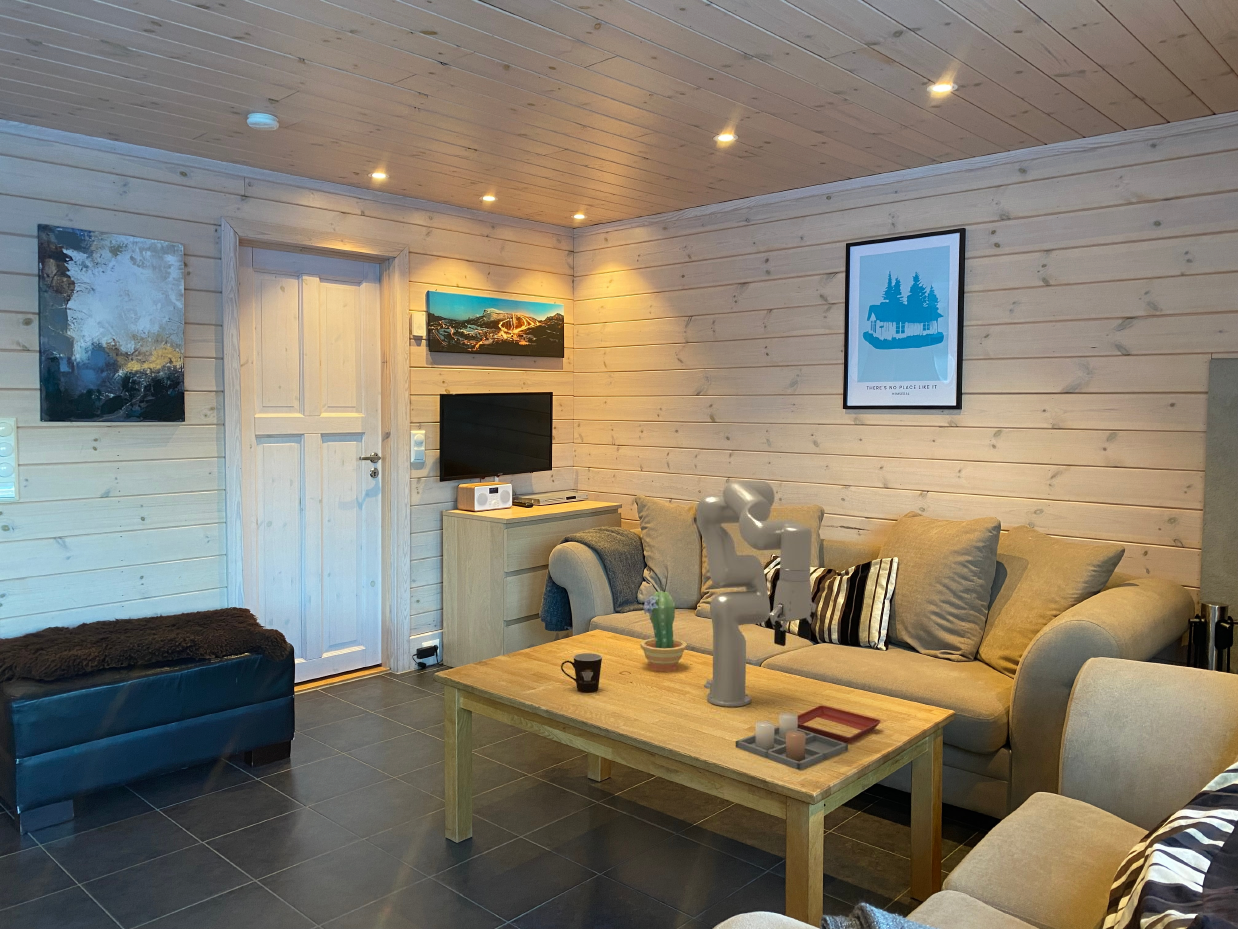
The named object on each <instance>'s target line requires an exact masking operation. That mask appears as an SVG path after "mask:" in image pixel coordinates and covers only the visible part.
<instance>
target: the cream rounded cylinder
mask: <svg viewBox="0 0 1238 929" xmlns="http://www.w3.org/2000/svg"><path fill="white" fill-rule="evenodd" d="M778 716H779V717H778V726H779V738H781V739H784V740H786V732H788V731H797V726H798V715H797V714H795V713H792V712H782V713H779V715H778Z"/></svg>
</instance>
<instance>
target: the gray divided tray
mask: <svg viewBox="0 0 1238 929" xmlns="http://www.w3.org/2000/svg"><path fill="white" fill-rule="evenodd" d="M797 731H801V732H803V733H805V734H806V739H805V760H802V761H800V762H798V761H795V760H792V759H789V758H787V757H786V740H784V739H781V738H779V725H777V726H774V748H773V749H771V750H768V751H767V750H764V749H761V748H758V747H755V733H754V734H752V735H748V736H747V737H744V738H740V739H738V740H735V748H737V749H739V750H743V751H745V752H748V753H750V754H753V755H756V756H759V757H761V758H764V759H768V760H770V761H772V762H775V763H778V764H781V765H784V766H787V767H789V768H792V769H795V770H797V771H801V770H804V769H807V768H809V767H811V766H813V765H816V764H818V763H820V762H823V761H826V760H828V759H830V758H833V757H836V756H837V755H840V754H842V753H845V752H847V751H849V743H846V742H842V741H838V740H834V739H831V738H827V737H824V736H821V735H818V734H815V733H811V732H808V731H805V730H802V729H799V728H797Z"/></svg>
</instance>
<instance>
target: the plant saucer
mask: <svg viewBox="0 0 1238 929" xmlns="http://www.w3.org/2000/svg"><path fill="white" fill-rule="evenodd" d="M797 716H798V726H797V728H799V729H802V730H805V731H808V732H811V733H815V734H818V735H821V736H824V737H827V738H830V739H833V740H837V741H840V742H843V743H846V744H849V743H851V742H853V741H854V740H856V739H858V738H859V737H862V736H863V735H865V734H867V733H868V732H869V733H871V732H873V731H874V730H875V729H876V728H877V727H878V726H879V724H880V723H881V722H882V720H881V719H878V718H874V717H870V716H867V715H864V714H858V713H855V712H850V711H846V710H842V709H840V708H835V707H831V706H827V705H822V704H820V705H818V706H816V707H814V708H812V709H809V710H807V711H805V712H802V713H800V714H798V715H797ZM817 718H820V719H821V720H822V719H823V720H824V721H825V720H826V721H829V722H832V723H835V724H839V725H842V726H846V727H847V728H848V727H849V728H852V729H856V730H859V731H857V733H854V734H852V735H850V736H846V735H844V734H840V733H836V732H832V731H828V730H825V729H822V728H818V727H814V726H811V725H807V723H809V722H811V721H813V720H815V719H817ZM870 731H871V732H870Z"/></svg>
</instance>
